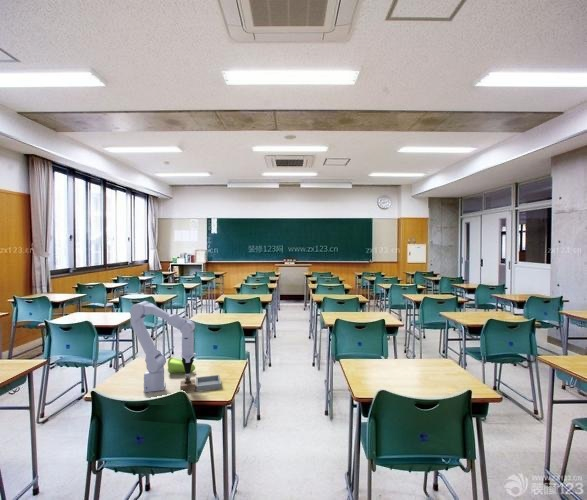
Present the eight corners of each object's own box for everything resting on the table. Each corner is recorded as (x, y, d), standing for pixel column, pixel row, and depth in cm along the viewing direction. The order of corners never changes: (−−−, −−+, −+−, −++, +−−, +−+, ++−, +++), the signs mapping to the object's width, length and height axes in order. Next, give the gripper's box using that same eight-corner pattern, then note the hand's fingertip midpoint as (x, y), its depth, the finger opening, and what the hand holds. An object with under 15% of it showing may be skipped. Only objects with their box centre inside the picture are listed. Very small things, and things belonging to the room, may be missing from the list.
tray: (196, 391, 164) (196, 386, 164) (195, 382, 176) (195, 377, 176) (221, 388, 168) (221, 383, 168) (219, 379, 179) (219, 374, 179)
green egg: (157, 358, 186) (191, 362, 183) (169, 355, 198) (200, 359, 195) (155, 372, 185) (189, 377, 182) (166, 369, 197) (198, 373, 194)
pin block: (180, 392, 163) (180, 386, 163) (180, 386, 170) (180, 380, 170) (195, 390, 166) (195, 384, 166) (194, 384, 172) (194, 379, 172)
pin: (185, 381, 166) (185, 367, 166) (185, 379, 169) (185, 365, 169) (190, 381, 167) (190, 366, 167) (190, 379, 169) (190, 365, 169)
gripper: (196, 348, 162) (196, 376, 162) (195, 340, 176) (195, 366, 176) (181, 350, 160) (181, 378, 160) (181, 342, 174) (181, 368, 174)
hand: (187, 372), depth 168 cm, fingers closed on pin, 2 cm apart
